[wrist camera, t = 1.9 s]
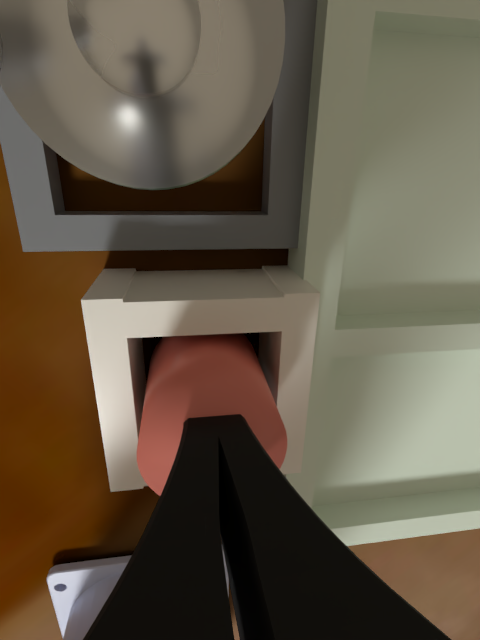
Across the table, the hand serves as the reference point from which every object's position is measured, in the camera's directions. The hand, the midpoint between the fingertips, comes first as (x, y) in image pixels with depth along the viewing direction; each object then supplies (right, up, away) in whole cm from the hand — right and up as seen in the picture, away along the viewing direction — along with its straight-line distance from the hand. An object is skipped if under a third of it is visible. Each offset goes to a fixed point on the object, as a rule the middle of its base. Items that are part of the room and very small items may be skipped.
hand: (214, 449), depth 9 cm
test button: (-1, +1, +4) cm, 4 cm away
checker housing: (-1, +2, +5) cm, 5 cm away
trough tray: (+9, +3, +6) cm, 11 cm away
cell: (-2, +9, +2) cm, 10 cm away
